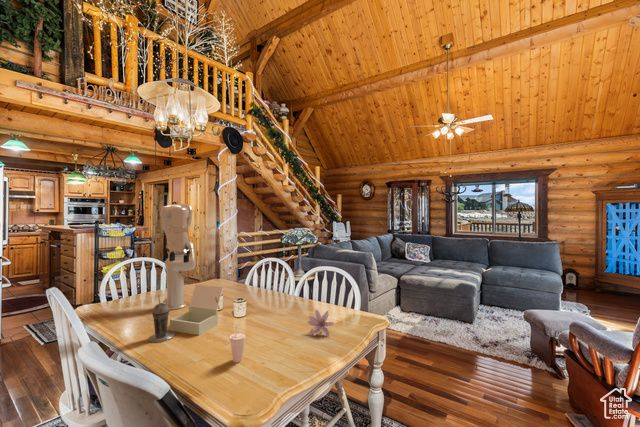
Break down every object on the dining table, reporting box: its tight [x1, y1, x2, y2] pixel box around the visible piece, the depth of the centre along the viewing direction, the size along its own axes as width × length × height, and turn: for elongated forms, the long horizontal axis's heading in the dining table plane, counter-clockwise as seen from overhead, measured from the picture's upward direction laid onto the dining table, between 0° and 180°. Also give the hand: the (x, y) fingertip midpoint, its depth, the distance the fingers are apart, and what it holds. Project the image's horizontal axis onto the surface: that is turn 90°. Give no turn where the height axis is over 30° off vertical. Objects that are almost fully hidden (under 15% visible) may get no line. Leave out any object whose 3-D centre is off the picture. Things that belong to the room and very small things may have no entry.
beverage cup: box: [152, 294, 170, 338], centre depth 142 cm, size 7×7×20 cm
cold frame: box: [169, 284, 224, 336], centre depth 156 cm, size 18×19×19 cm
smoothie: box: [229, 324, 247, 363], centre depth 120 cm, size 6×6×14 cm
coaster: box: [148, 331, 175, 344], centre depth 142 cm, size 11×11×1 cm
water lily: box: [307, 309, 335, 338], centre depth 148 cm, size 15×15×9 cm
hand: (179, 261), depth 162 cm, fingers open, 9 cm apart
